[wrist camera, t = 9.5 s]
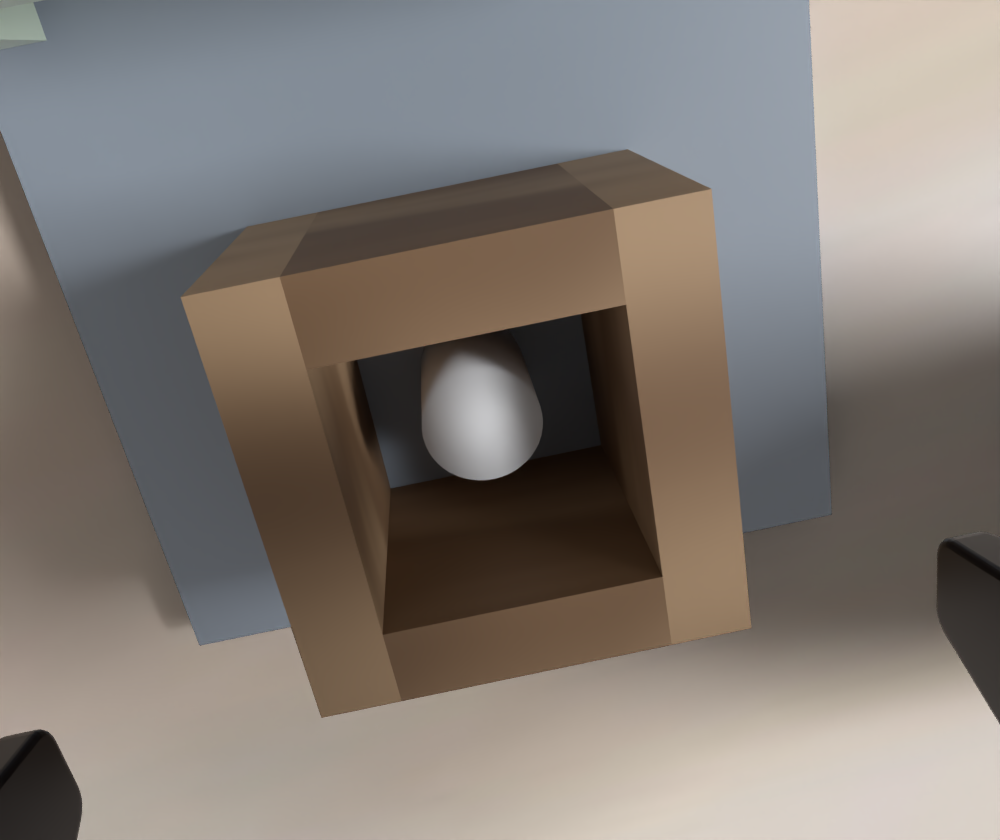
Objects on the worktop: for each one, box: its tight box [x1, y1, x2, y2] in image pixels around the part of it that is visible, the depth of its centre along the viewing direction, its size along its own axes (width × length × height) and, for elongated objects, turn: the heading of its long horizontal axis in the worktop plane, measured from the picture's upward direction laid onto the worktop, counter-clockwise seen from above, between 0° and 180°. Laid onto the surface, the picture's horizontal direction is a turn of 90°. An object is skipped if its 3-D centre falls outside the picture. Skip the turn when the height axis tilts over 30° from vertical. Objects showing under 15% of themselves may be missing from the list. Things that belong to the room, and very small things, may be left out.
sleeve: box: [181, 149, 751, 718], centre depth 15 cm, size 7×7×5 cm
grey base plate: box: [0, 0, 832, 645], centre depth 14 cm, size 22×14×4 cm, turn 11°
